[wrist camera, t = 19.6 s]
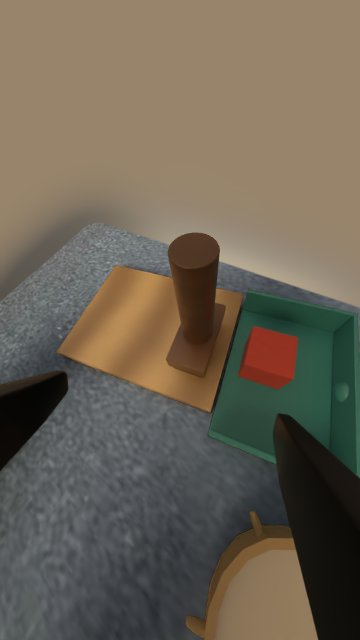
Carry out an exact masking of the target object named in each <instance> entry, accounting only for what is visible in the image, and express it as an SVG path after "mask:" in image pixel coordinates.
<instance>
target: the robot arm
mask: <svg viewBox="0 0 360 640" xmlns="http://www.w3.org/2000/svg"><path fill="white" fill-rule="evenodd" d="M67 391H68V377H67V373H66V372H64V371H58V370H57V371H52V372H49V373H45V374H41V375H37V376H33V377H29V378H25V379H21V380H17V381H14V382H10V383H6V384H2V385H0V470H1V469H2V468H3V467H4V466H5V465H6V464H7V463H8V462H9V460H10V459H11V458H12V457H13V456H14V455H15V454H16V453H17V452H18V451H19V450H20V448H21V447H22V446H23V445H24V444H25V443H26V442H27V441H28V440H29V439H30V437H31V436H32V435H33V434H34V433H35V432H36V431H37V430H38V429H39V428H40V426H41V425H42V424H43V423H44V422H45V421H46V419H47V418H48V417H49V415H50V414H51V413H52V412H53V410H54V409H55V408H56V406H57V405H58V404H59V403H60V401H61V400H62V399H63V397H64V396H65V395H66V393H67ZM273 442H274V449H275V456H276V463H277V471H278V477H279V483H280V487H281V492H282V496H283V500H284V504H285V508H286V512H287V516H288V520H289V524H290V528H291V532H292V536H293V540H294V544H295V548H296V552H297V556H298V560H299V564H300V569H301V573H302V577H303V581H304V585H305V589H306V593H307V597H308V601H309V605H310V609H311V613H312V617H313V621H314V625H315V629H316V633H317V637H318V640H360V478H359V477H358V476H357V475H356V474H355V473H353V472H352V471H351V470H350V469H349V468H348V467H347V466H346V465H345V464H343V463H342V462H341V461H340V460H339V459H338V458H337V457H336V456H335V455H334V454H332V453H331V452H330V451H329V450H328V449H327V448H326V447H325V446H324V445H322V444H321V443H320V442H319V441H318V440H317V439H316V438H315V437H314V436H313V435H311V434H310V433H309V432H308V431H307V430H306V429H305V428H304V427H303V426H301V425H300V424H299V423H298V422H297V421H296V420H295V419H294V418H293V417H292V416H290V415H287V414H282V413H278V414H277V416H276V420H275V424H274V429H273Z"/></svg>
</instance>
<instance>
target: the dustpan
mask: <svg viewBox="0 0 360 640" xmlns="http://www.w3.org/2000/svg"><path fill="white" fill-rule="evenodd" d="M253 326H256V327H259V328H263V329H267V330H271V331H275V332H279V333H282V334H286V335H290V336H294V337H298V343H297V352H296V361H295V370H294V379H293V380H292V381H290V382H289V383H287V384H286V385H284V386H283V387H281V388H280V389H275V388H272V387H269V386H266V385H263V384H260V383H257V382H254V381H251V380H248V379H245V378H241V377H238V373H239V368H240V364H241V360H242V356H243V352H244V347H245V343H246V341H247V339H248V336H249V334H250V332H251V330H252V327H253ZM333 332H334V344H333ZM332 362H333V378H332ZM331 394H332V412H331ZM278 413H282V414H287V415H290V416H292V417H293V418H294V419H295V420H296V421H297V422H298V423H299V424H300V425H301V426H303V427H304V428H305V429H306V430H307V431H308V432H309V433H310V434H311V435H313V436H314V437H315V438H316V439H317V440H318V441H319V442H320V443H321V444H322V445H324V446H325V447H326V448H327V449H328V450H329V451H330V452H331V453H332V454H334V455H335V456H336V457H337V458H338V459H339V460H340V461H341V462H342V463H343V464H345V465H346V466H347V467H348V468H349V469H350V470H351V471H352V472H353V473H355V474H356V475H357V476H358V477H359V478H360V356H359V325H358V314H357V313H352V312H348V311H343V310H339V309H334V308H330V307H325V306H321V305H316V304H312V303H307V302H303V301H298V300H294V299H289V298H285V297H280V296H275V295H271V294H266V293H262V292H257V291H253V290H248V292H247V295H246V298H245V301H244V305H243V308H242V312H241V315H240V319H239V323H238V326H237V330H236V334H235V337H234V341H233V344H232V348H231V352H230V355H229V359H228V363H227V366H226V370H225V374H224V377H223V381H222V385H221V388H220V392H219V396H218V399H217V403H216V407H215V410H214V414H213V418H212V421H211V425H210V428H209V432H208V436H209V437H211V438H213V439H216V440H218V441H221V442H223V443H225V444H228V445H230V446H232V447H235V448H237V449H240V450H242V451H244V452H247V453H249V454H251V455H254V456H256V457H259V458H261V459H263V460H266V461H268V462H271V463H273V464H275V465H277V463H276V456H275V449H274V442H273V429H274V424H275V420H276V416H277V414H278ZM330 427H331V445H330Z"/></svg>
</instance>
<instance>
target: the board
mask: <svg viewBox="0 0 360 640" xmlns="http://www.w3.org/2000/svg"><path fill="white" fill-rule="evenodd" d="M243 295H244V294H240V293H236V292H232V291H227V290H223V289H218V288H216V297H215V303H219V304H223V305H226V308H225V314H224V317H223V321H222V324H221V327H220V330H219V333H218V336H217V339H216V342H215V345H214V349H213V352H212V355H211V358H210V361H209V364H208V367H207V370H206V373H205V376H204V378H203V377H202V378H201V377H198V376H195V375H192V374H189V373H186V372H184V371H181V370H178V369H175V368H174V367H171V366H169V365H168V363H167V361H166V357H167V355H168V352H169V350H170V348H171V345H172V343H173V341H174V338H175V336H176V334H177V331H178V329H179V326H180V324H181V321H180V316H179V310H178V305H177V300H176V294H175V289H174V284H173V278H170V277H166V276H161V275H157V274H153V273H148V272H144V271H139V270H135V269H131V268H126V267H122V266H118V265H116V266H115V268H114V269H113V270H112V272H111V273H110V275H109V276H108V278H107V279H106V281H105V282H104V284H103V285H102V286H101V288H100V289H99V291H98V292H97V294H96V295H95V297H94V298H93V300H92V301H91V302H90V304H89V305H88V307H87V308H86V310H85V311H84V313H83V314H82V316H81V317H80V318H79V320H78V321H77V323H76V324H75V326H74V327H73V329H72V330H71V332H70V333H69V334H68V336H67V337H66V339H65V340H64V342H63V343H62V345H61V346H60V348H59V349H58V350H57V353H58V354H60V355H62V356H64V357H66V358H69V359H71V360H74V361H76V362H79V363H81V364H84V365H86V366H89V367H92V368H94V369H97V370H99V371H102V372H104V373H107V374H110V375H112V376H115V377H117V378H120V379H122V380H125V381H128V382H130V383H133V384H135V385H138V386H140V387H143V388H145V389H148V390H151V391H153V392H156V393H158V394H161V395H163V396H166V397H169V398H171V399H174V400H176V401H179V402H181V403H184V404H187V405H189V406H192V407H194V408H197V409H199V410H202V411H204V412H207V413H211V409H212V406H213V402H214V398H215V395H216V391H217V388H218V384H219V381H220V377H221V374H222V370H223V366H224V363H225V359H226V356H227V352H228V349H229V345H230V341H231V338H232V334H233V331H234V327H235V324H236V320H237V317H238V313H239V309H240V306H241V302H242V299H243Z"/></svg>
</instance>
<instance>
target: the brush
mask: <svg viewBox="0 0 360 640" xmlns="http://www.w3.org/2000/svg"><path fill="white" fill-rule="evenodd" d="M219 252H220V248H219V245H218V243H217V241H216V240H215V239H214V238H213V237H211V236H209V235H207V234H203V233H188V234H185V235H182V236H180V237H178V238H177V239H175V240H174V241H173V242H172V243H171V244H170V246H169V249H168V257H169V263H170V268H171V273H172V278H173V284H174V289H175V294H176V300H177V305H178V310H179V316H180V321H181V324H180V326H179V329H178V331H177V334H176V336H175V338H174V341H173V343H172V345H171V348H170V350H169V352H168V355H167V357H166V361H167V363H168V365H169V366H171V367H174V368H175V369H178V370H181V371H184V372H186V373H189V374H192V375H195V376H198V377H201V378H202V377H203V378H204V376H205V373H206V370H207V367H208V364H209V361H210V358H211V355H212V352H213V349H214V345H215V342H216V339H217V336H218V333H219V330H220V327H221V324H222V321H223V317H224V314H225V308H226V305H223V304H219V303H215V297H216V286H217V275H218V264H219Z"/></svg>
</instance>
